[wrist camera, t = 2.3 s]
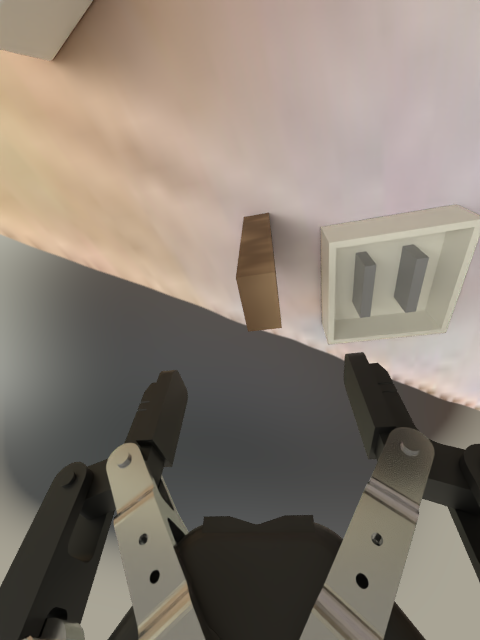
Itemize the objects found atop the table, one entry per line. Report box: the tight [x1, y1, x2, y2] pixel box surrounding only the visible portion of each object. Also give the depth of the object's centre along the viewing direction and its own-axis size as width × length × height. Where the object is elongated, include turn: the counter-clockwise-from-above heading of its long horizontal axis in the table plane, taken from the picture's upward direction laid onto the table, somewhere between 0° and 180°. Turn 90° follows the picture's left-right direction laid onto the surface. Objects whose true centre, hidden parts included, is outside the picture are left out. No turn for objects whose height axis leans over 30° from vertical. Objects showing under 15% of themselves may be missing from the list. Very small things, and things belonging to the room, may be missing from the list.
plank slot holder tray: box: [321, 204, 480, 345], centre depth 28 cm, size 12×12×4 cm
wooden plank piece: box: [236, 213, 282, 331], centre depth 23 cm, size 2×4×12 cm, turn 11°
